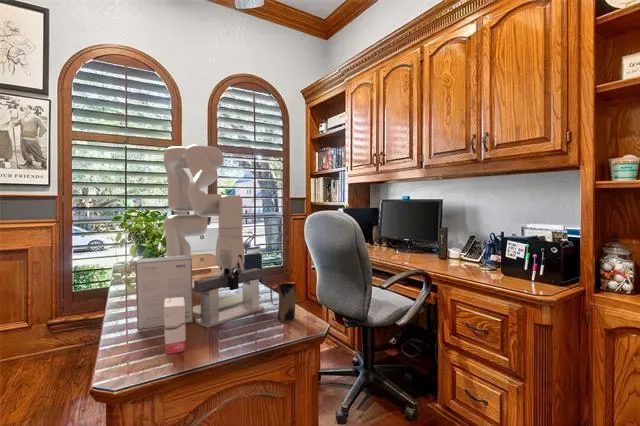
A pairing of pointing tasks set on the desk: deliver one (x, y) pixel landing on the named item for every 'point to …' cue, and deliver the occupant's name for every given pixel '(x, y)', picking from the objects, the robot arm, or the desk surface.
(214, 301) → the rack
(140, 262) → the hard drive box
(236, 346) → the desk surface
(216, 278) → the rail
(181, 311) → the ink box
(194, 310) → the mat
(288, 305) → the mug
